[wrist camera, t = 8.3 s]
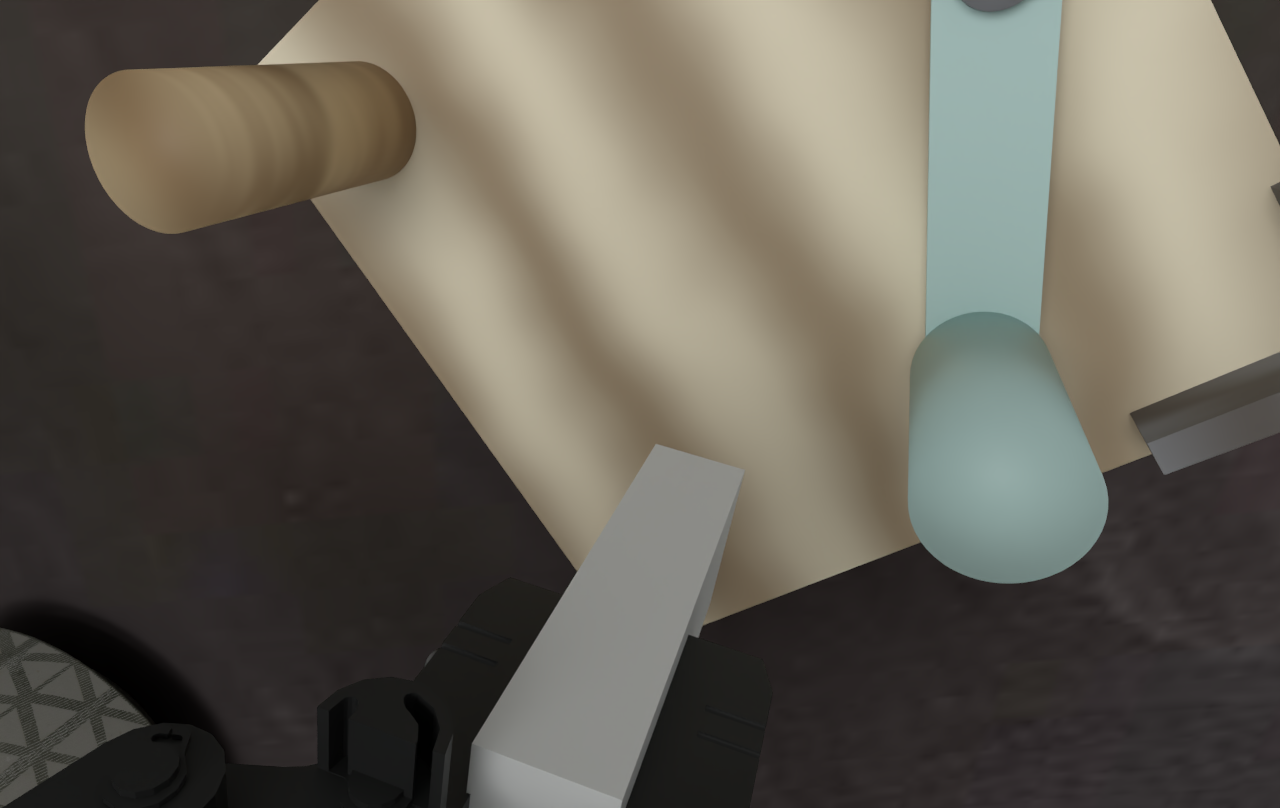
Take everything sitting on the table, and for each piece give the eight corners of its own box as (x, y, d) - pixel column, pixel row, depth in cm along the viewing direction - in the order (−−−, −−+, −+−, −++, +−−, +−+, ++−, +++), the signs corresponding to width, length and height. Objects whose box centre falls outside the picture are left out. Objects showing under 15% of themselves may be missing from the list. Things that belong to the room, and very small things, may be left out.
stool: (656, 604, 34) (547, 840, 24) (292, 86, 30) (-23, 109, 20) (1360, 317, 23) (1701, 529, 13) (942, -564, 19) (973, -1240, 9)
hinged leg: (1043, 422, 24) (1099, 590, 16) (909, 420, 25) (906, 576, 18) (1081, -95, 19) (1182, -176, 12) (914, -69, 20) (913, -130, 13)
